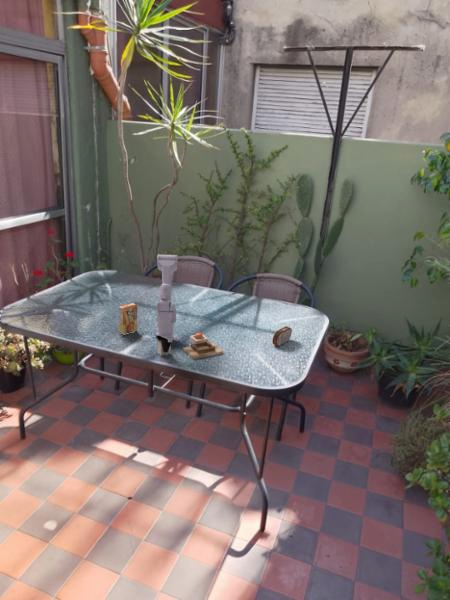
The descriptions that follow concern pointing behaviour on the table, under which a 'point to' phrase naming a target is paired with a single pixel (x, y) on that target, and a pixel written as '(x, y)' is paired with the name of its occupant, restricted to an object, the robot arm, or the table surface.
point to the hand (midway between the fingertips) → (164, 350)
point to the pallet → (202, 350)
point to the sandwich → (282, 336)
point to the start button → (198, 336)
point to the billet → (160, 348)
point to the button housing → (193, 340)
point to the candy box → (128, 318)
